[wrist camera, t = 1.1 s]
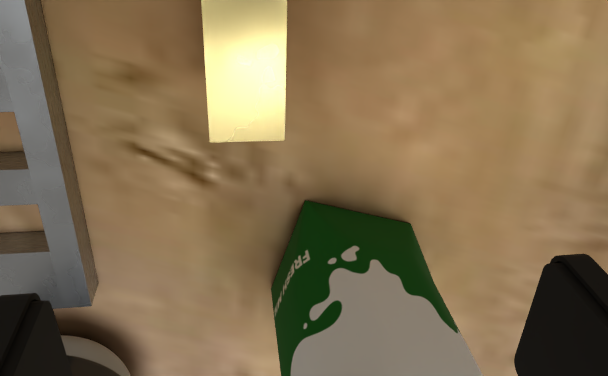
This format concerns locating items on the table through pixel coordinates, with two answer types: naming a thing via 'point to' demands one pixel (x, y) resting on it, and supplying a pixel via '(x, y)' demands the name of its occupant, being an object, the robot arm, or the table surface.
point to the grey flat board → (40, 170)
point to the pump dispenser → (92, 358)
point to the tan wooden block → (245, 69)
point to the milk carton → (361, 301)
